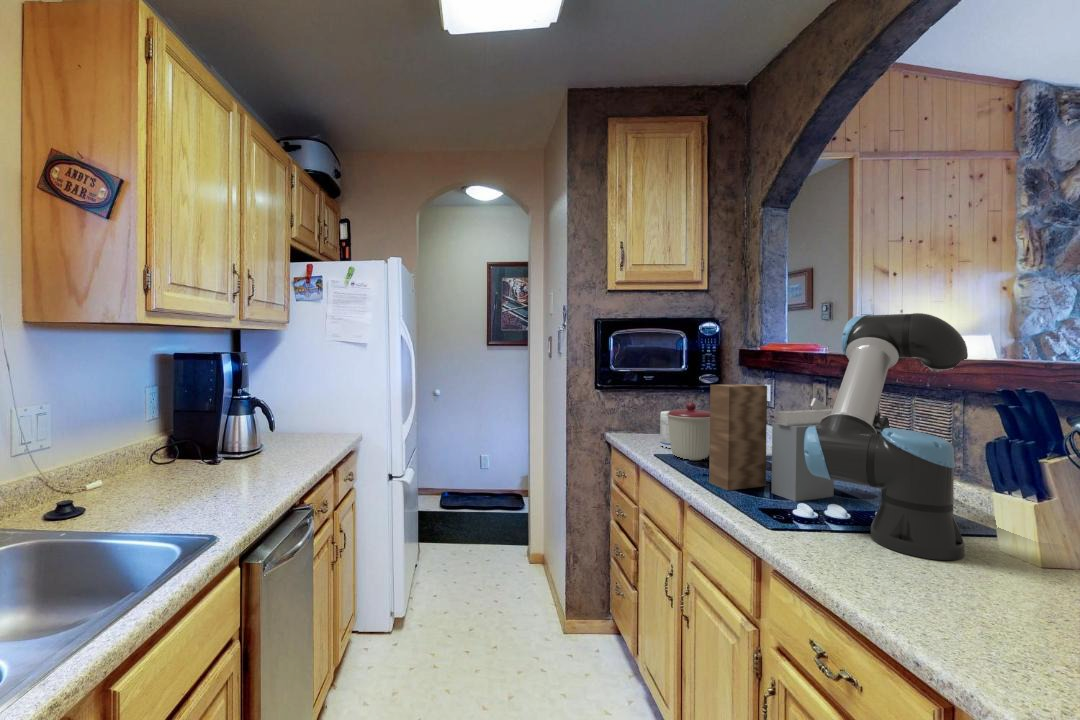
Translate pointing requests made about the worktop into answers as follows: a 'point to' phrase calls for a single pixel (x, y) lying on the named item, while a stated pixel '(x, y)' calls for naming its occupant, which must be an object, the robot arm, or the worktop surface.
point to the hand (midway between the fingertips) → (833, 404)
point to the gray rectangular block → (795, 466)
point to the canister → (689, 432)
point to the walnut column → (738, 436)
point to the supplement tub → (664, 429)
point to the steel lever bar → (801, 417)
